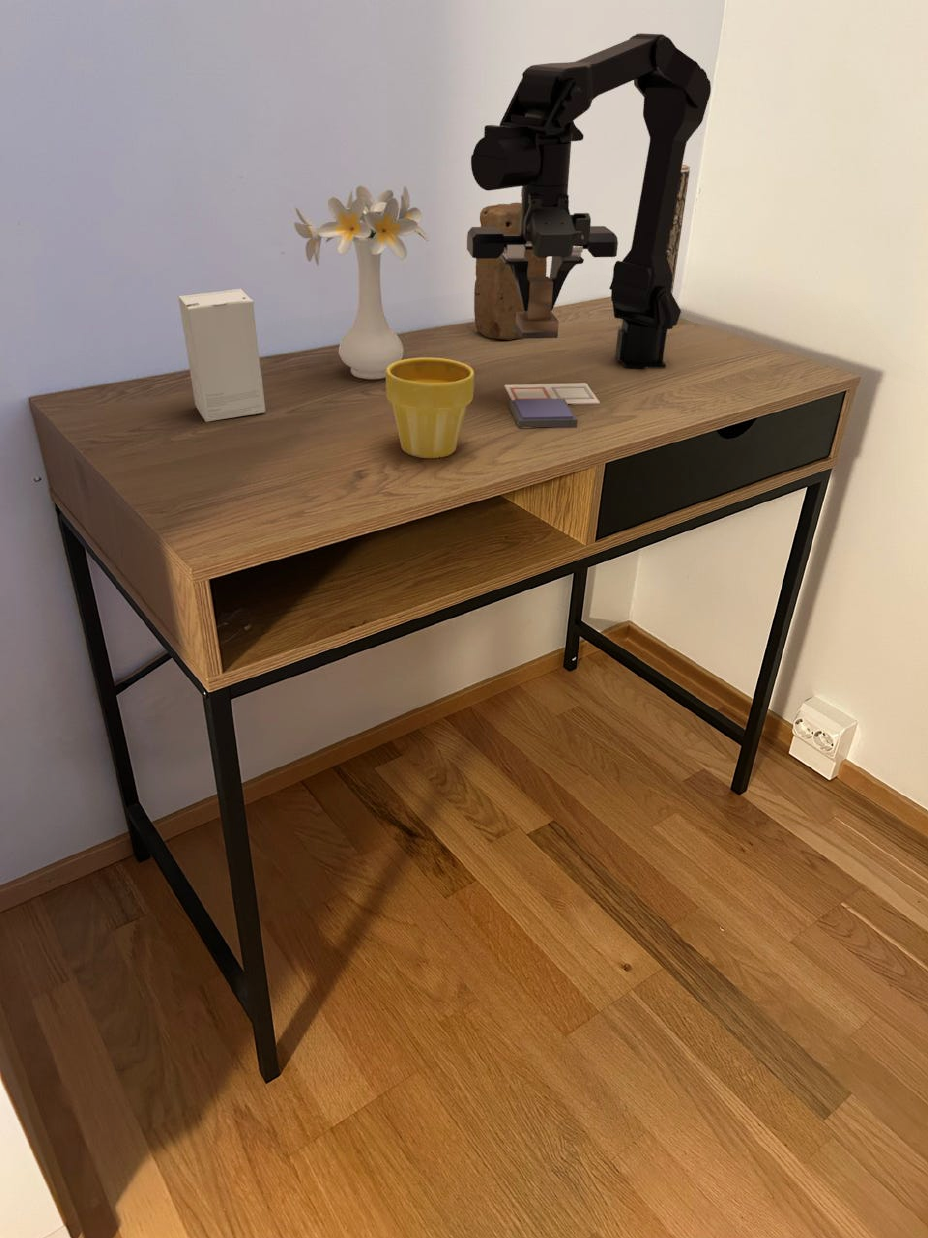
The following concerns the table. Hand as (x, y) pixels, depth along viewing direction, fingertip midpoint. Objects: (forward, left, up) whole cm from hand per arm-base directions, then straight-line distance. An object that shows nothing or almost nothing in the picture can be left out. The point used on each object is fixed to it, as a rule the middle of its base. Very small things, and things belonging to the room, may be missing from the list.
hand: (537, 310), depth 126 cm
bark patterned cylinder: (-28, -36, -12) cm, 47 cm away
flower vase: (+22, -10, -12) cm, 27 cm away
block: (-2, -30, -12) cm, 33 cm away
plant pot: (+16, +18, -12) cm, 27 cm away
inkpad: (0, +8, -12) cm, 14 cm away
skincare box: (+41, +4, -12) cm, 43 cm away
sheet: (-3, 0, -12) cm, 12 cm away
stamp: (0, 0, -3) cm, 3 cm away
